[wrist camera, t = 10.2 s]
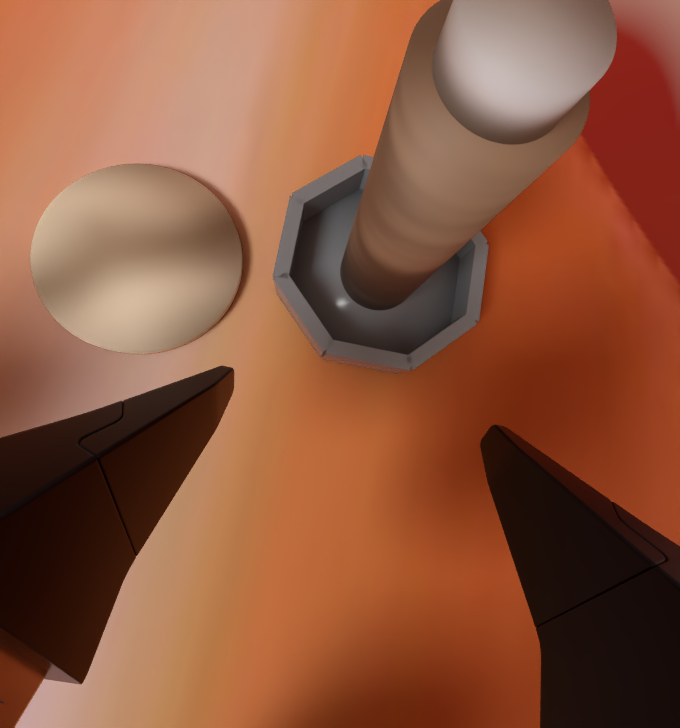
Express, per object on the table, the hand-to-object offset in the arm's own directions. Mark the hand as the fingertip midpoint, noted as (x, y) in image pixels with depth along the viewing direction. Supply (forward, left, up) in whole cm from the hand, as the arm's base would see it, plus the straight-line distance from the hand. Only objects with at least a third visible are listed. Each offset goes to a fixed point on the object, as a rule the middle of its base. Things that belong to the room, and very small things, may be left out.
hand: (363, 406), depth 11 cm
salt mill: (+5, -6, -7) cm, 11 cm away
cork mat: (+13, +5, -8) cm, 16 cm away
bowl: (+5, -6, -8) cm, 12 cm away
